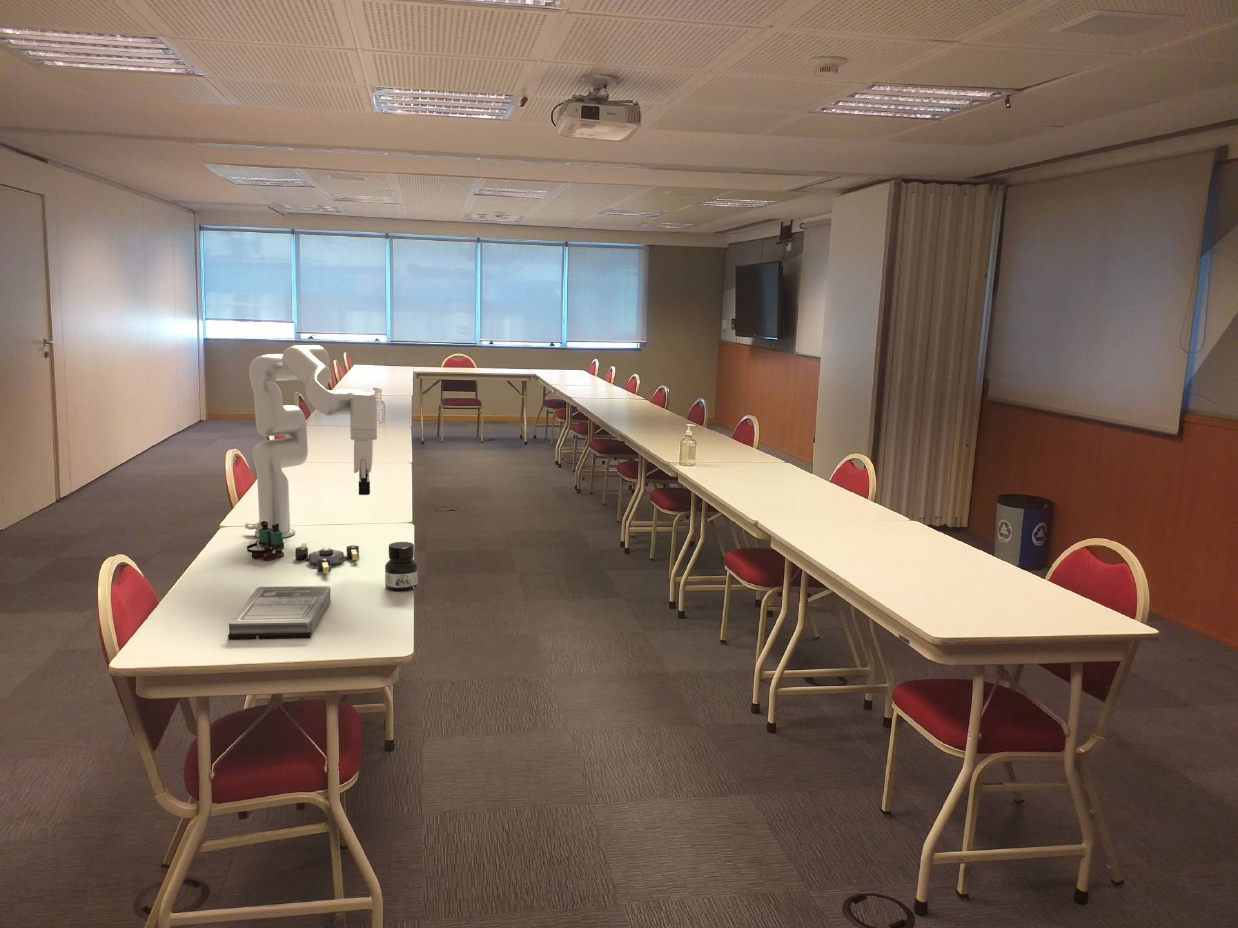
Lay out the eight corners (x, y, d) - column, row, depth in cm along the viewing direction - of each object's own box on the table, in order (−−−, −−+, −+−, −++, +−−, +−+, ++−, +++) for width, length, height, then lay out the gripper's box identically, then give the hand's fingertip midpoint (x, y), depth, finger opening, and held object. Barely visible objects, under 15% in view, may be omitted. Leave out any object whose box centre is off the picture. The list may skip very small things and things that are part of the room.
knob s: (317, 569, 262) (316, 558, 261) (330, 568, 263) (329, 557, 263) (319, 577, 254) (319, 566, 253) (333, 576, 255) (332, 565, 255)
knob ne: (346, 556, 276) (346, 545, 275) (358, 555, 277) (358, 544, 277) (348, 564, 268) (348, 553, 267) (361, 563, 269) (361, 552, 268)
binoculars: (239, 528, 267) (264, 518, 275) (243, 561, 270) (269, 550, 278) (261, 532, 263) (286, 522, 272) (265, 566, 266) (290, 554, 275)
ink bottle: (382, 592, 243) (382, 549, 241) (384, 582, 252) (383, 541, 250) (419, 591, 245) (419, 548, 243) (420, 581, 254) (419, 540, 251)
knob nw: (307, 560, 270) (307, 549, 269) (295, 560, 269) (294, 550, 269) (310, 552, 278) (310, 542, 278) (298, 552, 278) (297, 542, 277)
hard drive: (228, 641, 207) (227, 623, 206) (258, 603, 233) (257, 586, 232) (310, 640, 209) (309, 622, 208) (331, 602, 236) (331, 585, 235)
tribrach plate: (303, 569, 262) (302, 555, 261) (307, 558, 272) (306, 545, 272) (346, 567, 264) (345, 554, 264) (348, 556, 275) (348, 543, 275)
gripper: (351, 430, 272) (352, 489, 275) (349, 438, 258) (350, 500, 261) (377, 430, 274) (378, 489, 277) (376, 438, 260) (376, 499, 263)
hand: (364, 494), depth 269 cm, fingers closed
